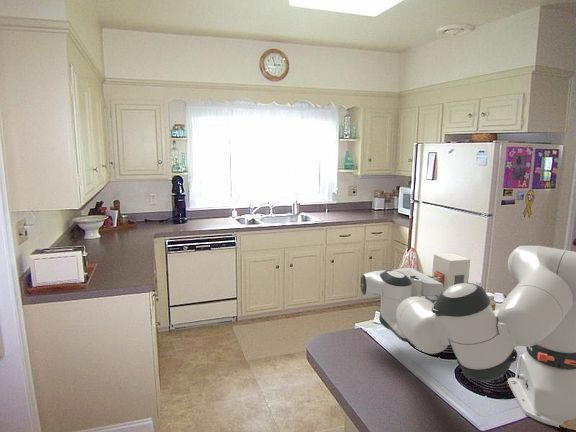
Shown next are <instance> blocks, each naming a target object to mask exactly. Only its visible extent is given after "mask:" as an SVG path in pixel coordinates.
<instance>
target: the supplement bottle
mask: <svg viewBox="0 0 576 432" xmlns="http://www.w3.org/2000/svg"><path fill="white" fill-rule="evenodd" d="M485 292H486V291H485ZM486 294H487V295H488V297H489V299H490V305H491V307H492V309H493V311H494V310H496V305H497V301H496V300H495V298H496V297H495V294H494V293H492V292H486Z"/></svg>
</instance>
